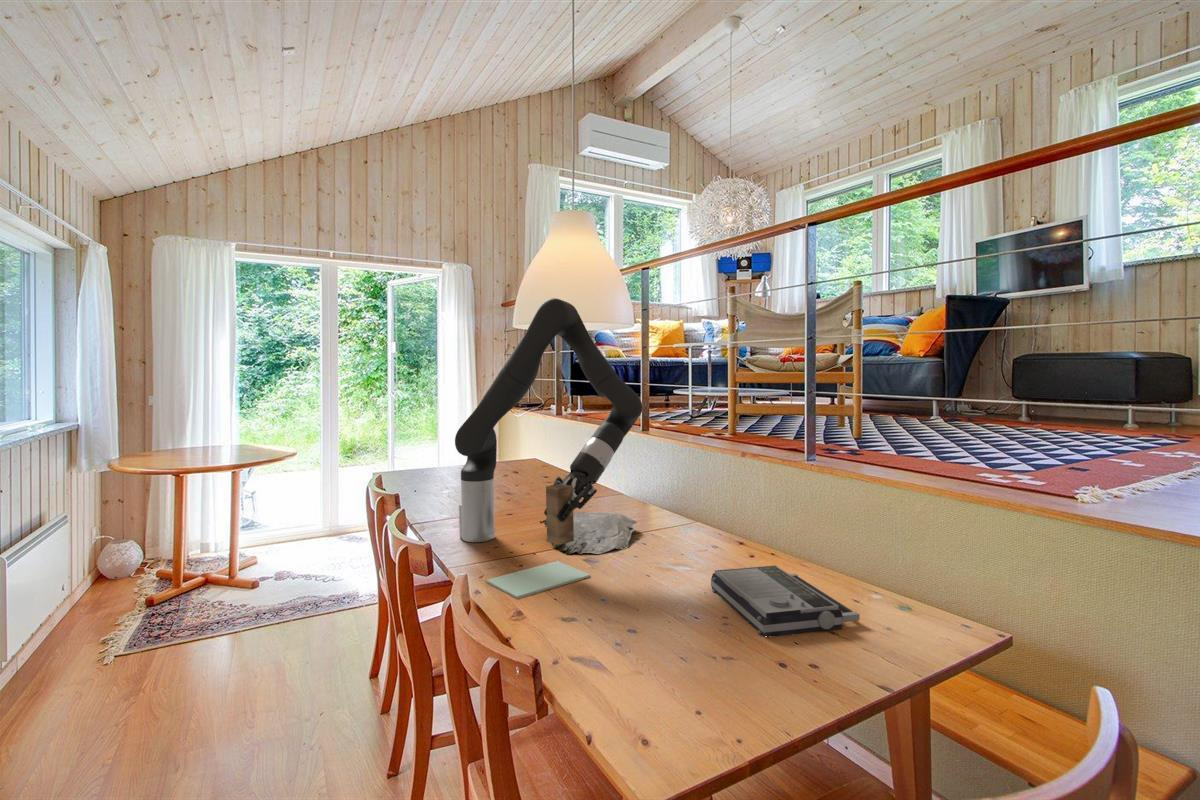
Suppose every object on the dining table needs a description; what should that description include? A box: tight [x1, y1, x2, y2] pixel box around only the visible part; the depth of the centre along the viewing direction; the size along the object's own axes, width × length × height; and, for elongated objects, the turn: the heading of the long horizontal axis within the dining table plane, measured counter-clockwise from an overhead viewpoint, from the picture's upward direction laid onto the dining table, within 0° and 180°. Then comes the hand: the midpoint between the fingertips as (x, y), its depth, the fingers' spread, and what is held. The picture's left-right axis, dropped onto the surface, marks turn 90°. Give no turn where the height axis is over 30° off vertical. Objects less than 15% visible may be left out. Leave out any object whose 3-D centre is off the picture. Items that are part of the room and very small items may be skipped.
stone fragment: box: [539, 511, 637, 555], centre depth 167 cm, size 25×29×6 cm
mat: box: [485, 560, 591, 600], centre depth 135 cm, size 20×13×1 cm, turn 130°
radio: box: [710, 565, 860, 638], centre depth 118 cm, size 24×5×20 cm
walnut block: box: [545, 484, 574, 545], centre depth 138 cm, size 4×4×13 cm
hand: (553, 517), depth 137 cm, fingers closed on walnut block, 4 cm apart
